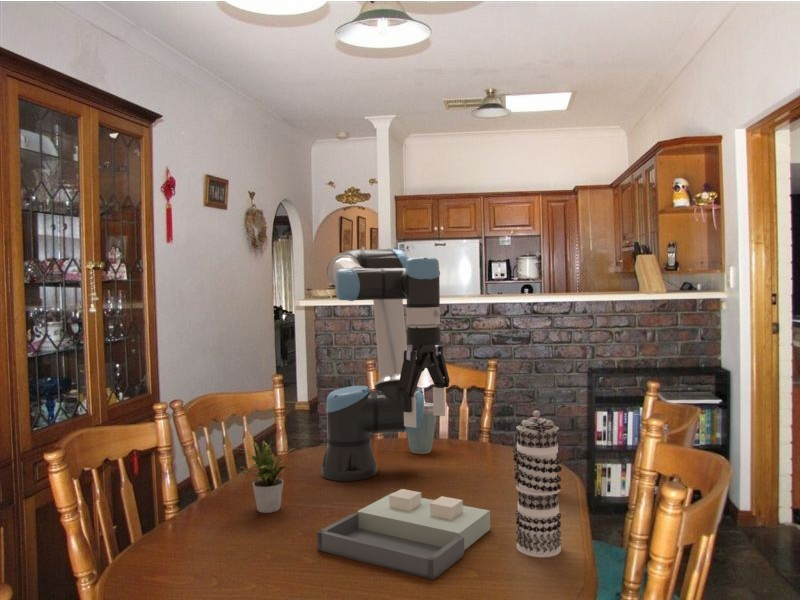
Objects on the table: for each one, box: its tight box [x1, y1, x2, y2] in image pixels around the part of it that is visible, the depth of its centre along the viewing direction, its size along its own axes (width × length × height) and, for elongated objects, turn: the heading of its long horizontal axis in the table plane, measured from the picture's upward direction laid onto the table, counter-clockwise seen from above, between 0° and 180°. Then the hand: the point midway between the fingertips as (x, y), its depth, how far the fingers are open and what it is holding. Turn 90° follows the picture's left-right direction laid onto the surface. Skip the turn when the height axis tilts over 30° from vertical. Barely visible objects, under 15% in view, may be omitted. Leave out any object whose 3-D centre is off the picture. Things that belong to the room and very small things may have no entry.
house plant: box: [235, 439, 295, 514], centre depth 150 cm, size 14×14×16 cm
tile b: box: [430, 495, 464, 520], centre depth 133 cm, size 5×5×2 cm
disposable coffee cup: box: [406, 402, 438, 455], centre depth 198 cm, size 11×11×15 cm
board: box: [356, 491, 491, 551], centre depth 135 cm, size 24×14×4 cm, turn 58°
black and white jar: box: [512, 416, 563, 558], centre depth 125 cm, size 9×9×25 cm
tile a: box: [388, 488, 422, 511], centre depth 139 cm, size 5×5×2 cm
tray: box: [316, 512, 465, 581], centre depth 124 cm, size 26×12×4 cm, turn 58°
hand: (425, 420), depth 146 cm, fingers open, 12 cm apart
